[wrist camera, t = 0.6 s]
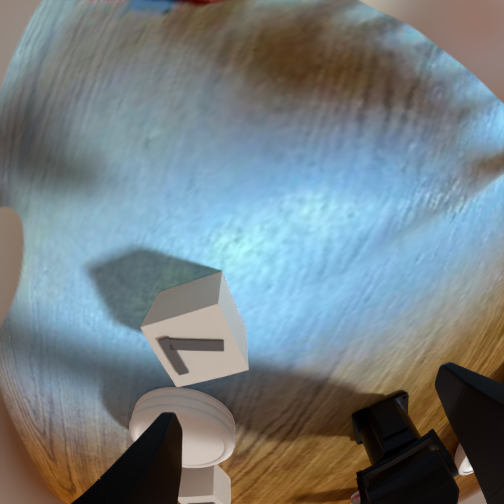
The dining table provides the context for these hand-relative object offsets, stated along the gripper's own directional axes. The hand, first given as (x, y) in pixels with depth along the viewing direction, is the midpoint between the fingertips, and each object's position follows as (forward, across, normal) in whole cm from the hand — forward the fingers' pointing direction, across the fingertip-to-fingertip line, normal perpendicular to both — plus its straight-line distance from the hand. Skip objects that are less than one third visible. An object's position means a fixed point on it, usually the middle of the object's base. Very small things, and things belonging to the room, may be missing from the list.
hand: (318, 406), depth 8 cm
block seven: (+13, +6, +3) cm, 14 cm away
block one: (+14, +11, +26) cm, 31 cm away
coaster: (+14, +10, +15) cm, 23 cm away
